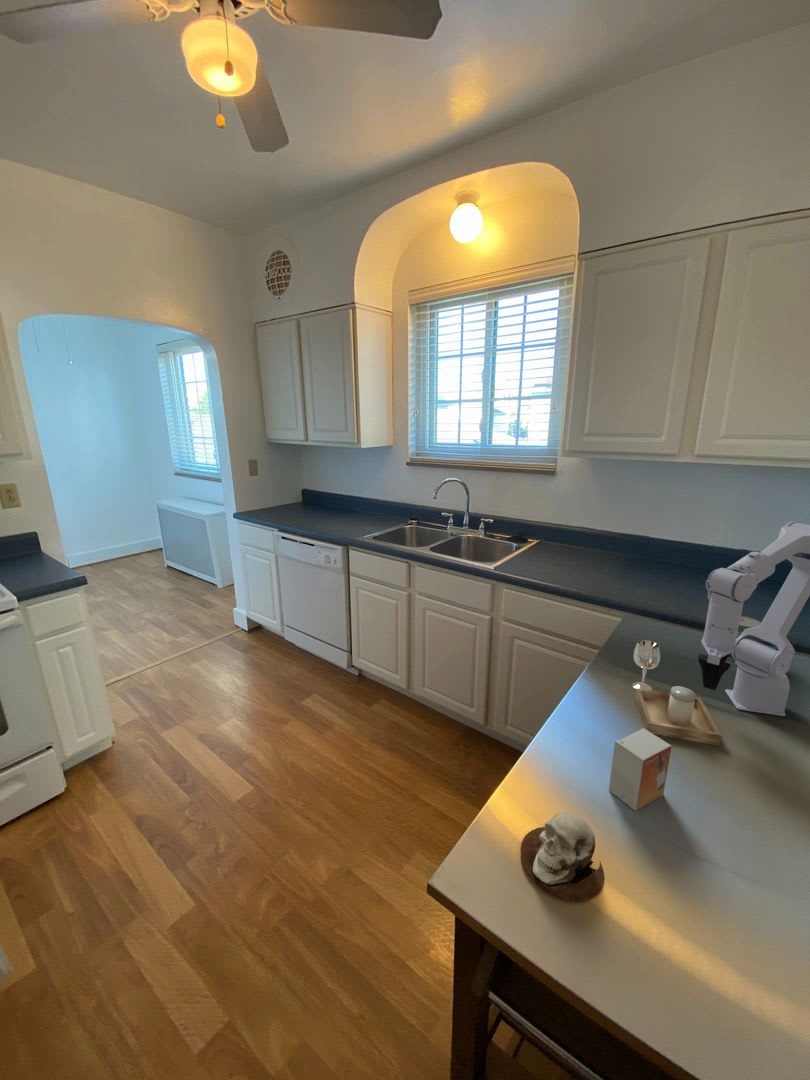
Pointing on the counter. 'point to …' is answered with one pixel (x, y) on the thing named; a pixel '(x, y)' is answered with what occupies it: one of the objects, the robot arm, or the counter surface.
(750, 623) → the canned tomato
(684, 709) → the shaker
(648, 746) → the small box
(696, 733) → the tray
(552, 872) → the skull
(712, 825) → the counter surface
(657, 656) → the wineglass
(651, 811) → the counter surface
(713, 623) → the robot arm
